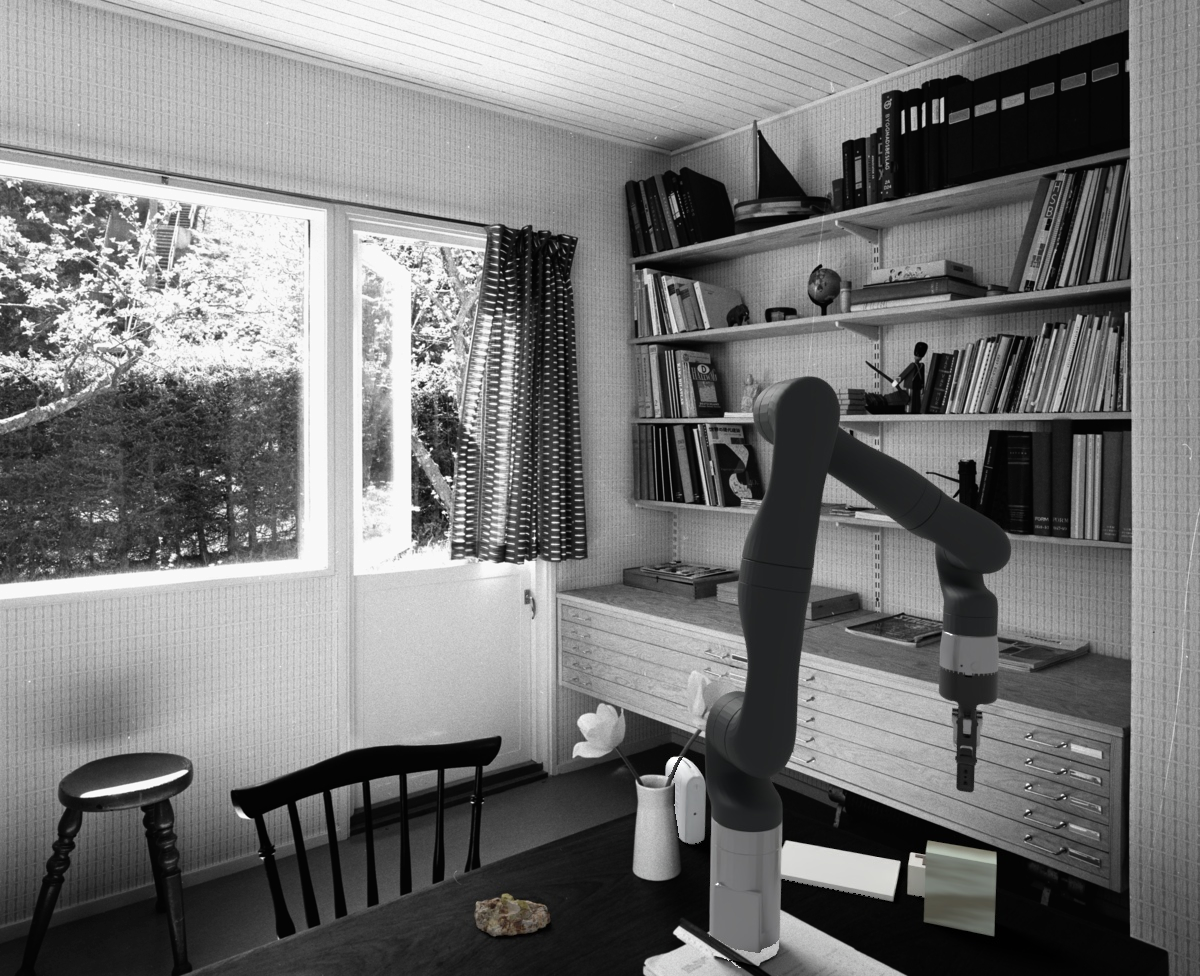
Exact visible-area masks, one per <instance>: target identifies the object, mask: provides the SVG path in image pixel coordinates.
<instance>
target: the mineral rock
mask: <svg viewBox="0 0 1200 976" xmlns="http://www.w3.org/2000/svg"><path fill="white" fill-rule="evenodd" d="M550 916H551V914H550V912H549V911H548V907H547V905H545V904H542V903H536V902H532V901H530V900H520V899H516V900H515V899H514V896H513V895H511V894H509V893H502V894H501V897H494V898H492V899H484V900H483V901H476V903H475V910H474V919H475V926H476V927H477V928H478V929H479V930H481V931H483V932H485V933H488V934H489V935H490V936H492V937H496V936H497V937H498V936H504V935H505V936H514V935H520V934H528V933H531V934H533V933H535V932H537V931H538V929H543V928H546V926H547V925H548V924H549V923H550V922H551V921H552V920H551V918H550Z"/></svg>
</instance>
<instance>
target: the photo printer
mask: <svg viewBox="0 0 1200 976" xmlns="http://www.w3.org/2000/svg"><path fill="white" fill-rule="evenodd" d="M679 757H680V756H673V757H670V759H668V761H667V762H666V765H665V778H666V777H668V776H669V775H670V774H671V772H672V770H673V767H674V765H675V763H676V762H677V760H678V758H679ZM682 757H683V756H682ZM673 780H674V783H675V804H674V806H675V814H676V820H677V826H678V833H679V837H678V838H679V839H680V840H681V841H682V842H684V843H686V844H687V843H688V844H689V845H696V844H695V843H697V844H700V843H702V842H701V841H704V840H705V836H706V835H705V834H706V833H705V832H706V828H705V827H706V794H707V793H706V792H707V787H706V779H705V778H704V776H703V774H702V773H701V771H700V770H699V768H698V767H697V766H696V765H695V764H694V762H693V761H691V760H689V759H688V758H686V757H683V758H682V760H681V761H680V763H679V765H678V767H677V770H676V772H675V775H674V778H673ZM699 842H700V843H699ZM688 844H687V845H688Z"/></svg>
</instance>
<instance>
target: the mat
mask: <svg viewBox="0 0 1200 976" xmlns="http://www.w3.org/2000/svg"><path fill="white" fill-rule="evenodd" d="M900 869H901V861H900V860H895V859H890V858H884V857H877V856H873V855H868V854H864V853H863V854H862V853H857V852H852V851H846V850H841V849H834V848H831V847H830V848H829V847H824V846H820V845H813V844H807V843H802V842H797V841H791V840H785V841H784V844H783V846H782V854H781V880H782V879H785V880H784V881H787V880H789V881H788V882H792V881H795V882H794V883H797V882H798V884H802V883H803V885H807V884H808V886H812V885H813V887H817V886H818V887H819V888H822V887H824V888H825V889H827V888H829V890H832V889H834V890H835V891H837V890H839V891H838V892H843V891H844V893H848V892H849V893H848V894H853V893H856V894H855V895H858V894H861V895H860V896H863V895H865V896H864V897H868V896H870V897H869V898H873V897H874V898H873V899H878V898H879V899H878V900H883V901H884V900H885V901H889V902H894V898H895V893H896V889H897V884H898V879H899V873H900ZM824 888H823V889H824Z"/></svg>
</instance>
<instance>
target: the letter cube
mask: <svg viewBox="0 0 1200 976" xmlns="http://www.w3.org/2000/svg"><path fill="white" fill-rule="evenodd" d="M925 865H926V854H921V853H916V852H910V853H909V860H908V864H907V892H906V894H907V895H909V896H914V895H915V896H914V897H919V896H922V897H921V898H925Z"/></svg>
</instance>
